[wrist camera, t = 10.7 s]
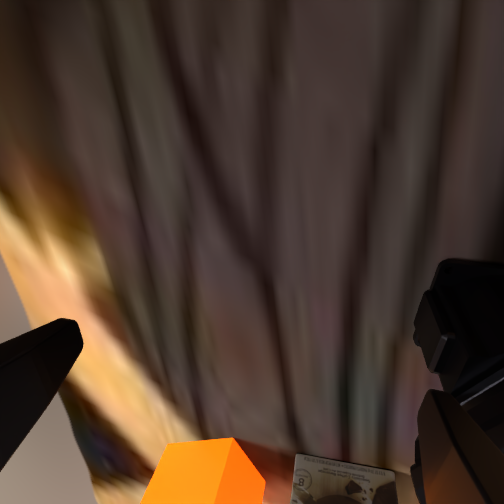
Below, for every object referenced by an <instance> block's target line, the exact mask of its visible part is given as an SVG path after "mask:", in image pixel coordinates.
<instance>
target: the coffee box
mask: <svg viewBox="0 0 504 504" xmlns="http://www.w3.org/2000/svg"><path fill="white" fill-rule="evenodd" d="M290 504H398V498H397V491H396V482H395V473H394V472H392V471H388V470H383V469H377V468H372V467H367V466H361V465H356V464H351V463H345V462H340V461H335V460H329V459H324V458H319V457H313V456H308V455H303V454H296V457H295V466H294V475H293V484H292V492H291V500H290Z"/></svg>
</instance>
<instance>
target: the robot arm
mask: <svg viewBox="0 0 504 504" xmlns="http://www.w3.org/2000/svg"><path fill="white" fill-rule="evenodd" d="M446 267H452V268H451V269H450V270H447V271H445V270H444V269H445V268H446ZM414 326H415V332H414V335H413V340H414V343H415V344H416V345H417V346H419V347H421V348H422V352H423V355H424V358H425V361H426V365H427V368H428V369H429V371H430V372H431V373H435V374H438V375H439V378H440V381H441V384H442V387H443V390H444V391H439V390H434V389H430V390H428V391H427V393H426V395H425V397H424V399H423V402H422V404H421V406H420V409H419V411H418V417H417V423H418V433H419V435H418V437H417V439H416V441H415V464H414V465H412V466H411V468H410V471H411V477H412V481H413V484H414V488H415V492H416V495H417V498H418V500H419V503H420V504H504V266H499V265H491V264H483V263H474V262H466V261H458V260H450V259H449V260H443V261H441V262H440V263H439V265H438V267H437V269H436V272H435V275H434V278H433V281H432V284H431V287H430V289H429V290H427V291H425V292H424V294H423V297H422V300H421V302H420V305H419V308H418V311H417V314H416V317H415V320H414ZM82 349H83V339H82V335H81V332H80V329H79V326H78V323H77V322H76V321H75V320H71V319H66V318H59V319H57V320H55V321H52V322H50V323H48V324H45V325H43V326H41V327H38V328H36V329H34V330H31V331H29V332H27V333H24V334H22V335H20V336H18V337H16V338H13V339H11V340H8V341H6V342H3V343H1V344H0V472H1V470H2V469H3V468H4V466H5V464H6V463H7V462H8V461H9V459H10V458H11V457H12V455H13V454H14V452H15V451H16V449H17V448H18V447H19V445H20V444H21V443H22V441H23V440H24V439H25V437H26V436H27V434H28V433H29V432H30V430H31V429H32V428H33V426H34V425H35V423H36V422H37V421H38V419H39V418H40V417H41V415H42V414H43V412H44V411H45V410H46V408H47V406H48V405H49V404H50V402H51V401H52V399H53V398H54V396H55V394H56V393H57V391H58V390H59V388H60V386H61V385H62V383H63V381H64V380H65V378H66V376H67V375H68V373H69V371H70V369H71V368H72V366H73V364H74V363H75V361H76V359H77V358H78V356H79V354H80V353H81V351H82Z"/></svg>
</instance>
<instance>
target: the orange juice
mask: <svg viewBox="0 0 504 504" xmlns="http://www.w3.org/2000/svg"><path fill="white" fill-rule="evenodd" d="M264 488H265V480H264V479H263V477H262V476H261V475H260V473H259V472H258V471H257V469H256V468H255V467H254V465H253V464H252V463H251V461H250V460H249V459H248V457H247V456H246V454H245V453H244V452H243V450H242V449H241V448H240V446H239V445H238V444H237V442H236V441H235V440H234V438H224V439H214V440H203V441H193V442H182V443H172V444H167V447H166V449H165V451H164V453H163V455H162V457H161V460H160V462H159V464H158V466H157V468H156V470H155V472H154V475H153V477H152V479H151V481H150V483H149V485H148V488H147V490H146V492H145V494H144V496H143V498H142V501H141V503H140V504H262V499H263V494H264Z"/></svg>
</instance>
